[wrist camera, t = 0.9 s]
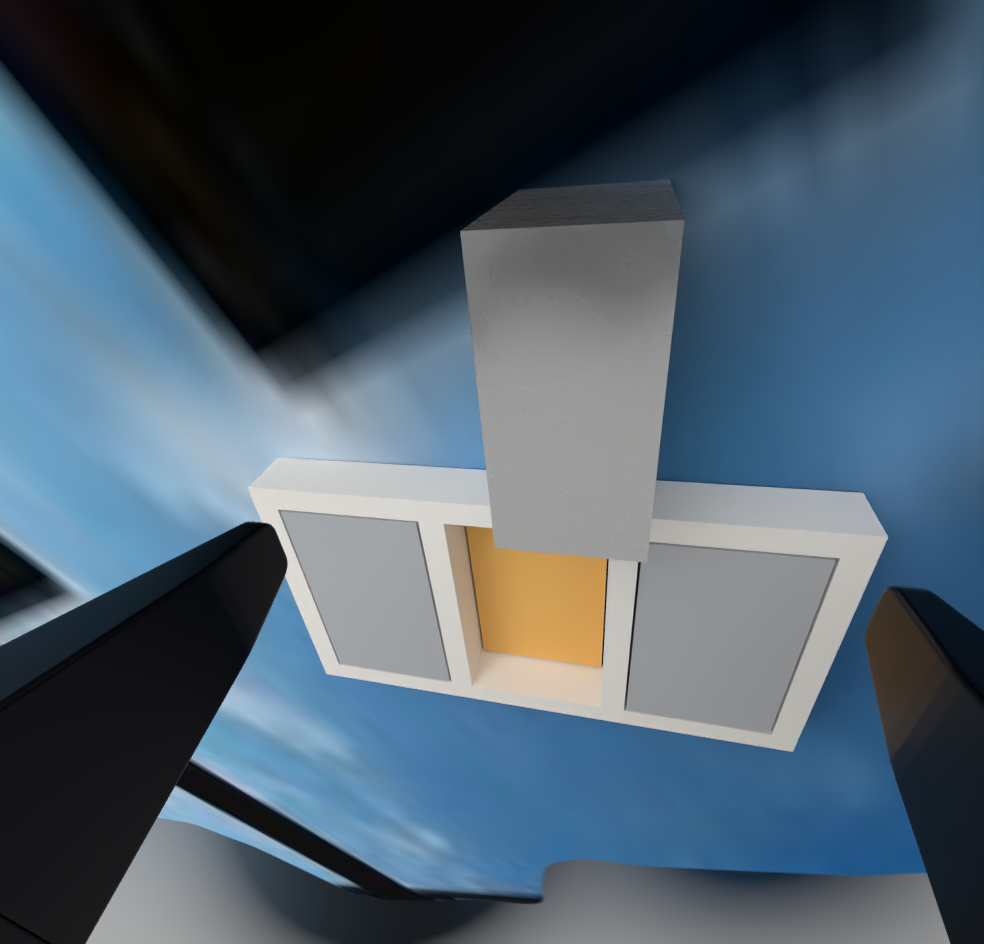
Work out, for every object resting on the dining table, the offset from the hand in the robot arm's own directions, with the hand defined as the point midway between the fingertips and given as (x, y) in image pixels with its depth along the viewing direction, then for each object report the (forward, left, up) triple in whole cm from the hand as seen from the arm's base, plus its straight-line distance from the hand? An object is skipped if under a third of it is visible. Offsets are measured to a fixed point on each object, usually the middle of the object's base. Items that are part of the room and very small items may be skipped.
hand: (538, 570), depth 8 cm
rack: (+2, +12, -11) cm, 16 cm away
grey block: (0, 0, -11) cm, 11 cm away
